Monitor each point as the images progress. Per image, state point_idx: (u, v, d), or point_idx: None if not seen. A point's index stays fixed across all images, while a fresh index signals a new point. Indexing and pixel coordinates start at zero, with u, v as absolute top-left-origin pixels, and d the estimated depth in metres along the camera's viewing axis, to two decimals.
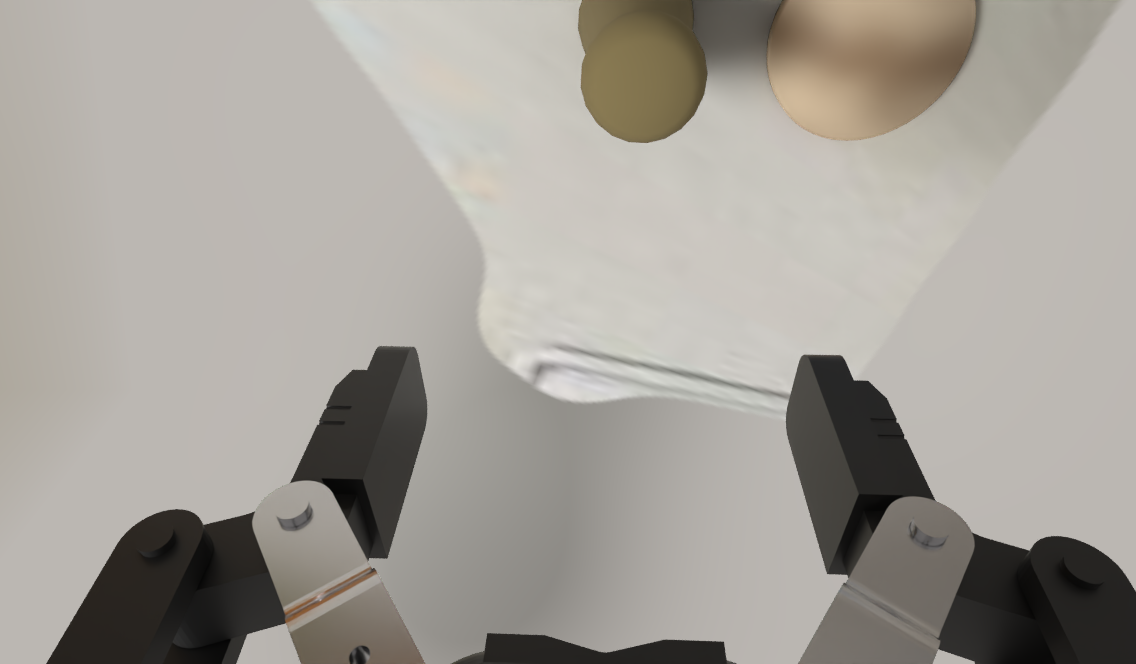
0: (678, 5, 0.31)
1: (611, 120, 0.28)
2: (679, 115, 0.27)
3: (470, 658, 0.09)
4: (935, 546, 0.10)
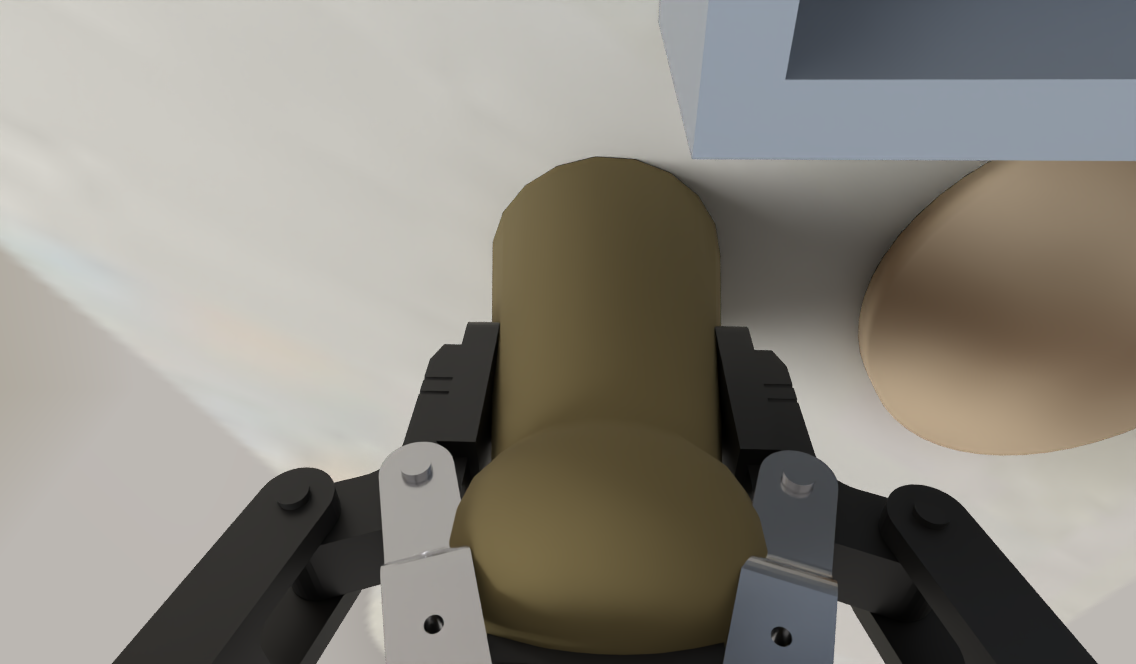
0: (693, 309, 0.13)
1: None
2: None
3: None
4: (800, 493, 0.10)
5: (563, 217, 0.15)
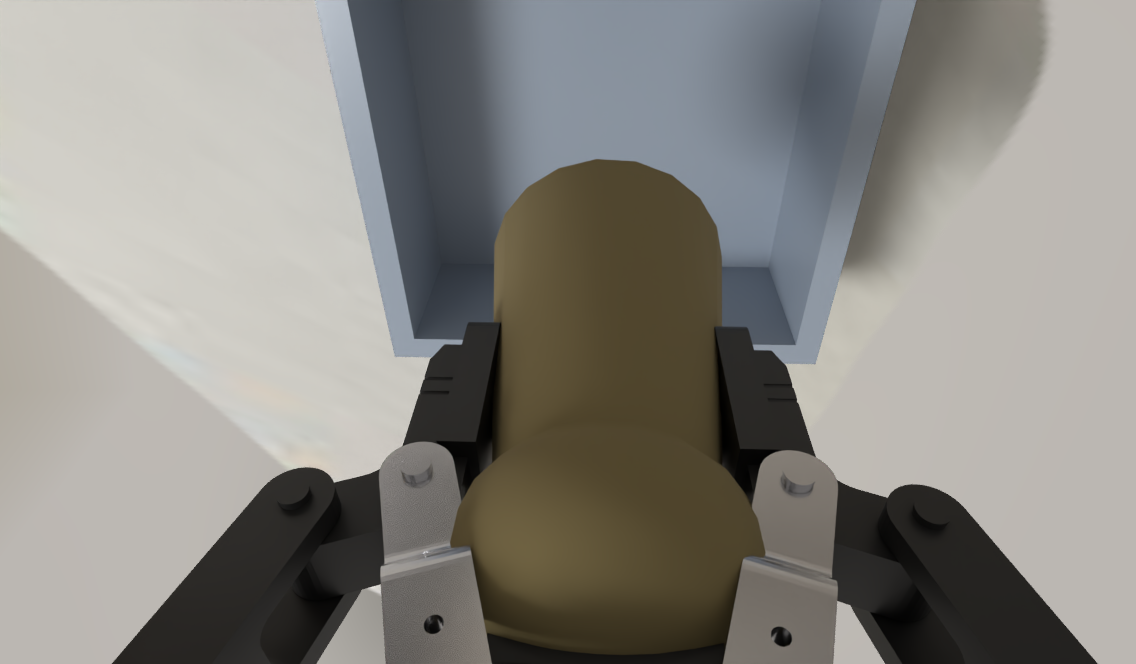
0: (694, 311, 0.13)
1: None
2: None
3: None
4: (800, 493, 0.10)
5: (565, 219, 0.15)
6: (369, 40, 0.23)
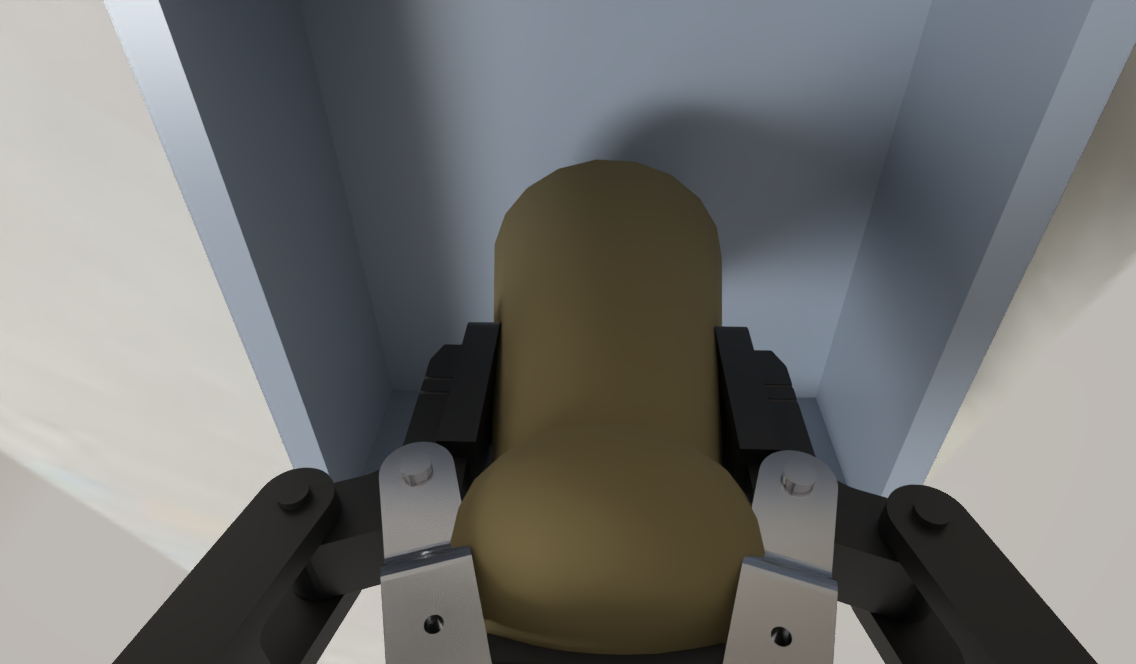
0: (694, 312, 0.13)
1: None
2: None
3: None
4: (801, 493, 0.10)
5: (565, 219, 0.15)
6: (249, 148, 0.15)
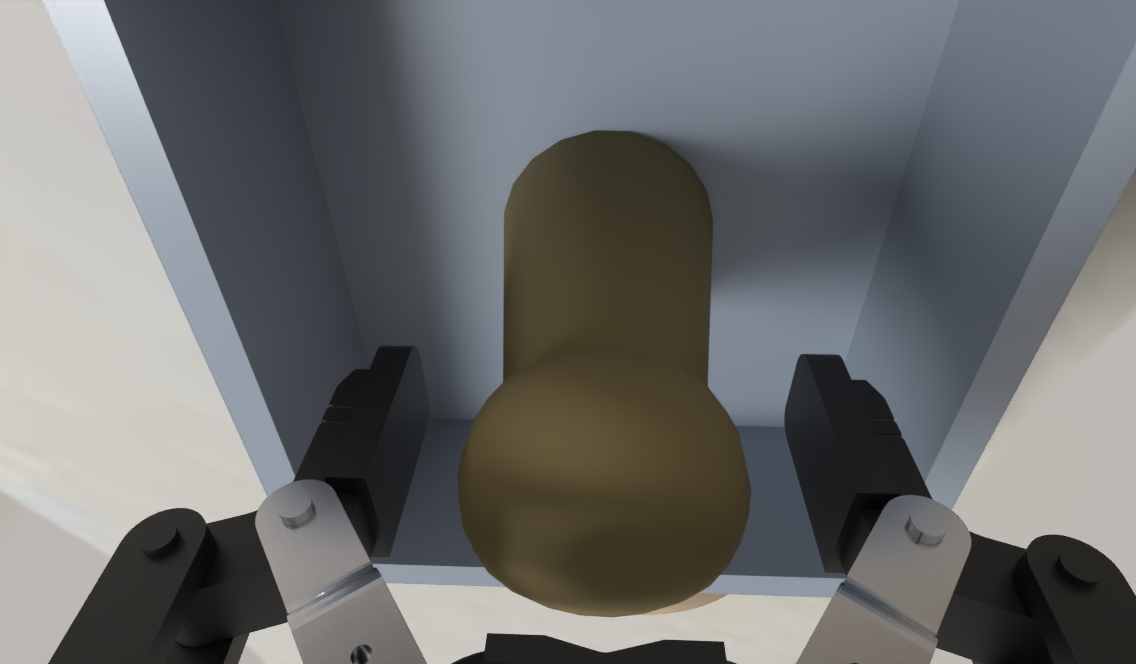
0: (683, 260, 0.15)
1: (528, 596, 0.12)
2: (685, 595, 0.12)
3: (470, 658, 0.09)
4: (932, 544, 0.10)
5: (566, 182, 0.16)
6: (220, 177, 0.14)
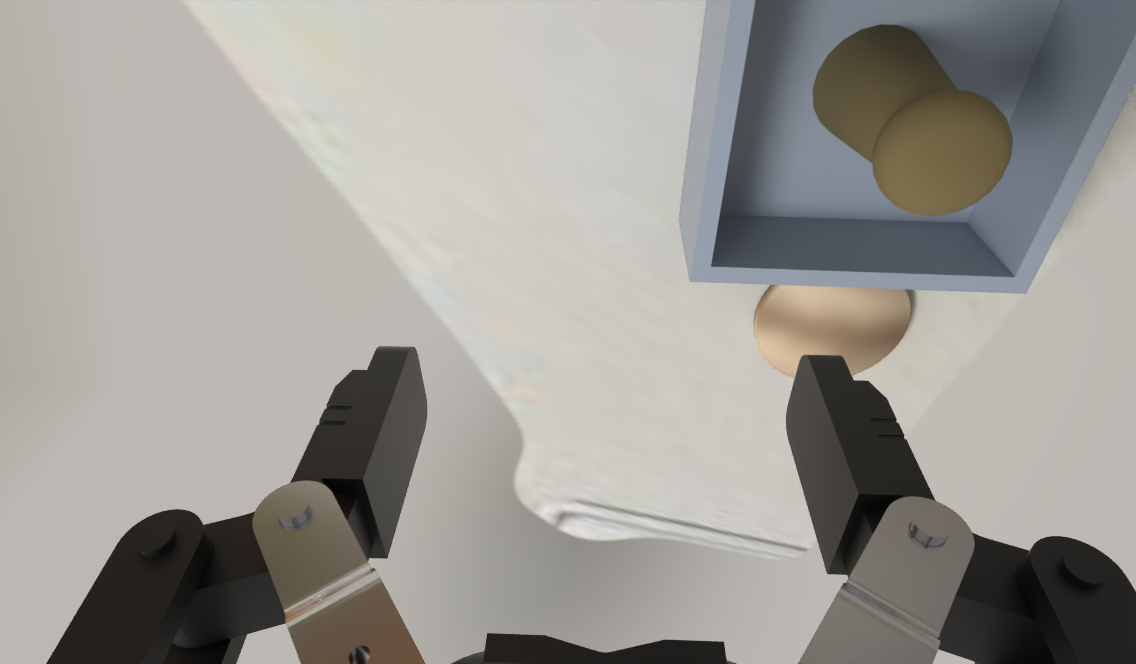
0: (948, 77, 0.31)
1: (913, 196, 0.28)
2: (981, 193, 0.28)
3: (470, 658, 0.09)
4: (935, 546, 0.10)
5: (878, 45, 0.32)
6: None
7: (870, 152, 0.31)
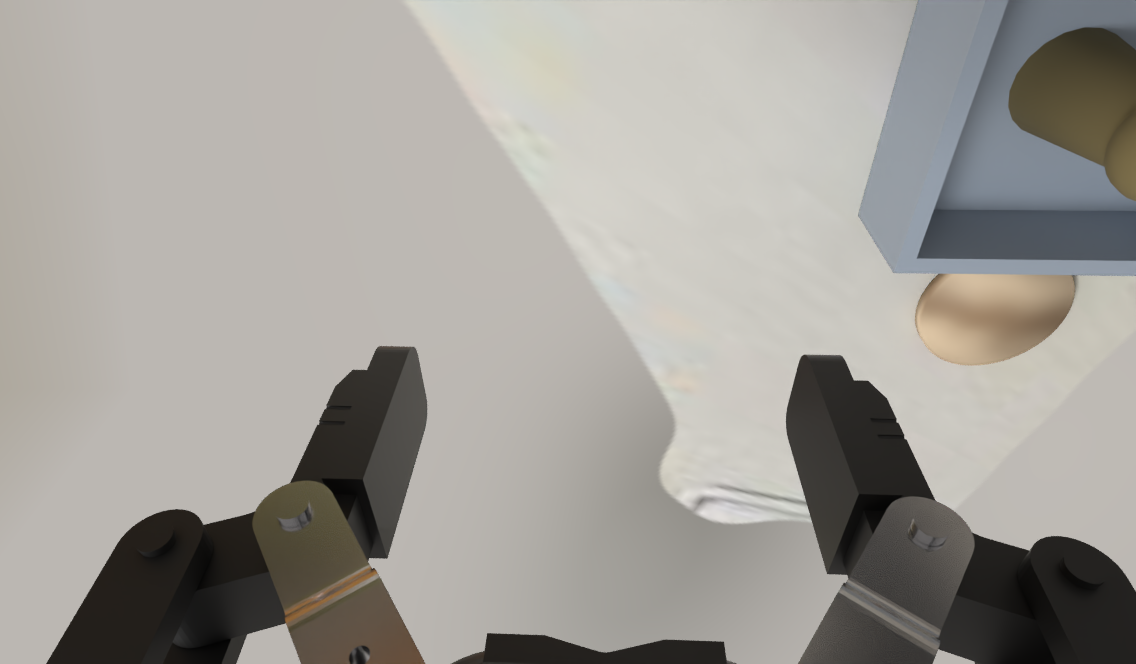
0: None
1: None
2: None
3: (470, 658, 0.09)
4: (935, 546, 0.10)
5: (1090, 47, 0.35)
6: None
7: (1094, 148, 0.33)
